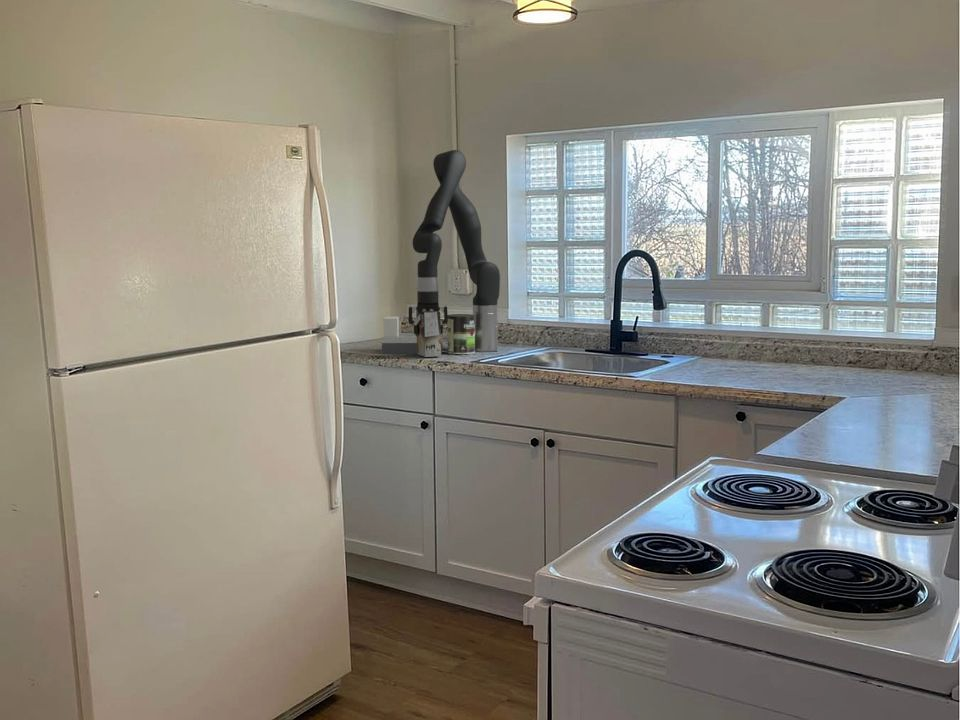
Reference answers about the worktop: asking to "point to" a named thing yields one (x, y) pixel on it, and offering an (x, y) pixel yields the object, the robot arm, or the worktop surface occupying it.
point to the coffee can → (461, 334)
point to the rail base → (401, 348)
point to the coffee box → (429, 334)
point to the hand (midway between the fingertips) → (428, 335)
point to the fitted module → (391, 326)
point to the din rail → (403, 338)
